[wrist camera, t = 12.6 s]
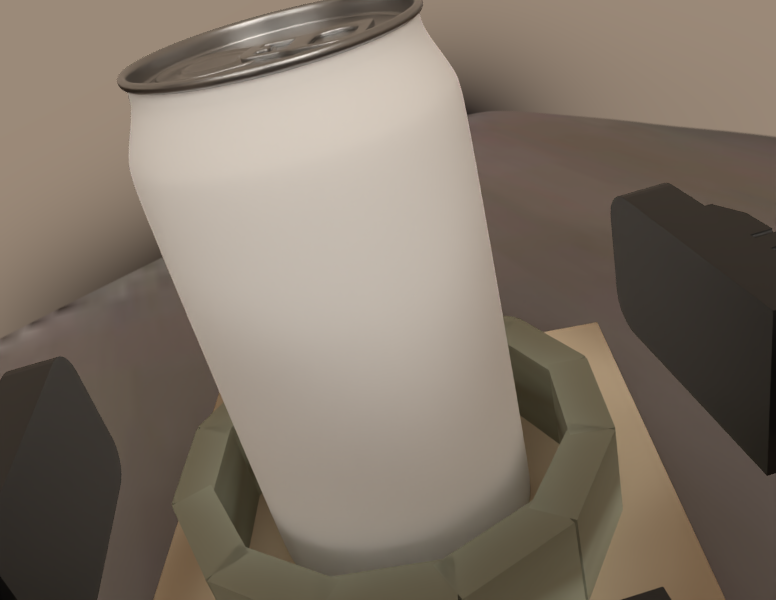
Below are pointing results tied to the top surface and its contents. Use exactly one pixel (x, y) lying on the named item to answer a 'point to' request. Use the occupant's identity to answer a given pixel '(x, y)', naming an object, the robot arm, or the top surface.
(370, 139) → the can
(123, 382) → the top surface
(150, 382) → the top surface
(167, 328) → the top surface
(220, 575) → the can holder
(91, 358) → the top surface
